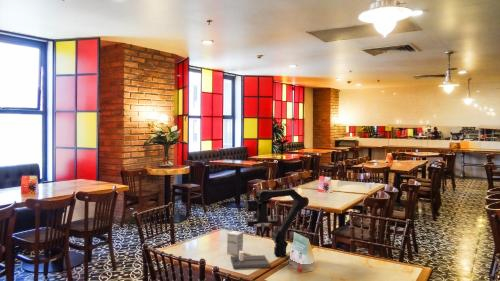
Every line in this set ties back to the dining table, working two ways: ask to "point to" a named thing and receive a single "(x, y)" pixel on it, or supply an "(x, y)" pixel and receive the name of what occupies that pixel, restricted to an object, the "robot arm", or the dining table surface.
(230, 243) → the supplement box
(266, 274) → the dining table surface
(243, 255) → the fader tab
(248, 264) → the console
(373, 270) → the dining table surface
